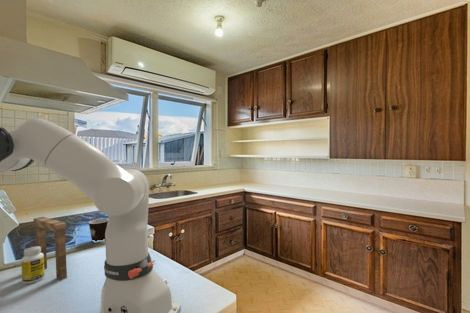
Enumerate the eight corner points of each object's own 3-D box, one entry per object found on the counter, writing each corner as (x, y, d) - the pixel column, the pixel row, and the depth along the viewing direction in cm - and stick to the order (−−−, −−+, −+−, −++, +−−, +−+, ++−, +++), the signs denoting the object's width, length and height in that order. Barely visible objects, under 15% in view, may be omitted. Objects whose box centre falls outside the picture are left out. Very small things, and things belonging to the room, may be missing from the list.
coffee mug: (87, 241, 126) (86, 221, 126) (106, 236, 132) (105, 217, 132) (93, 247, 117) (92, 226, 117) (113, 242, 123) (112, 222, 123)
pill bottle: (32, 285, 85) (30, 252, 85) (17, 283, 86) (15, 251, 86) (49, 276, 91) (47, 245, 91) (35, 274, 92) (33, 244, 92)
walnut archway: (68, 277, 90) (66, 222, 89) (59, 280, 87) (56, 225, 87) (44, 265, 99) (42, 216, 99) (35, 269, 97) (33, 218, 96)
